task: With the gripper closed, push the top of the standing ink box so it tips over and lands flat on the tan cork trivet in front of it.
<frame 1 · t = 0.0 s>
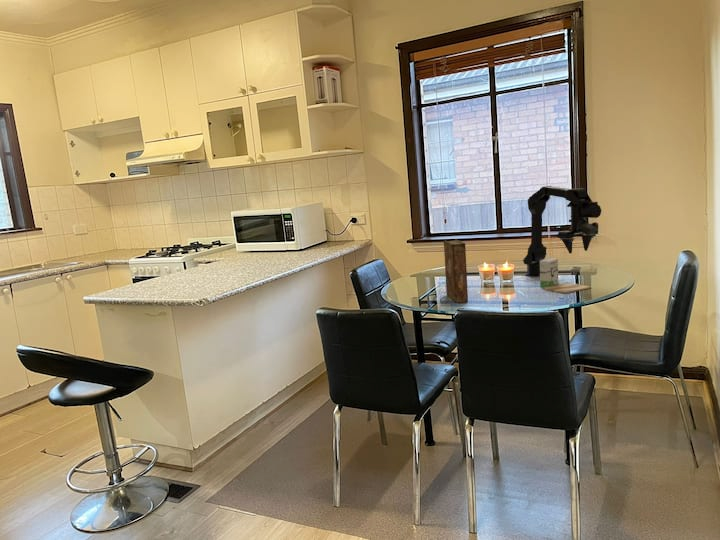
hand: (578, 252, 240), 15 cm above the table, fingers open, 9 cm apart
ink box: (549, 285, 246), on the table
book: (457, 299, 235), on the table
cork trivet: (566, 288, 236), on the table
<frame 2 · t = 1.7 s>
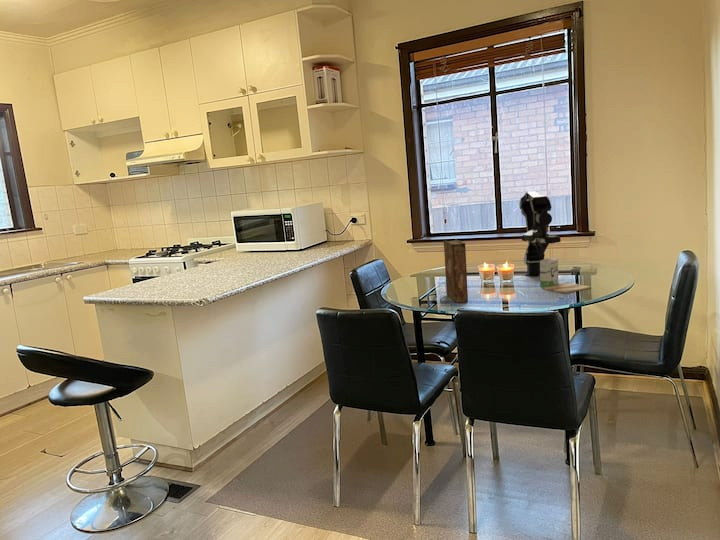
hand: (541, 256, 250), 12 cm above the table, fingers closed
nothing on the table moved.
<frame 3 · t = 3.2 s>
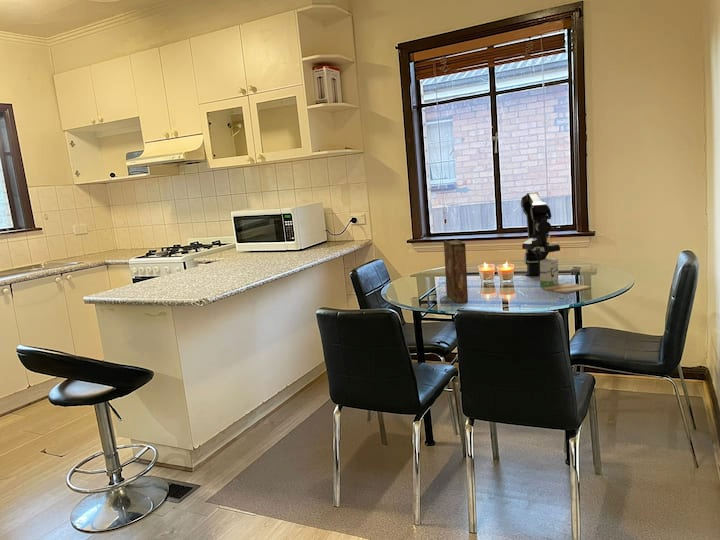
hand: (541, 265, 248), 9 cm above the table, fingers closed
ink box: (549, 285, 246), on the table, touching gripper
everything else where it was.
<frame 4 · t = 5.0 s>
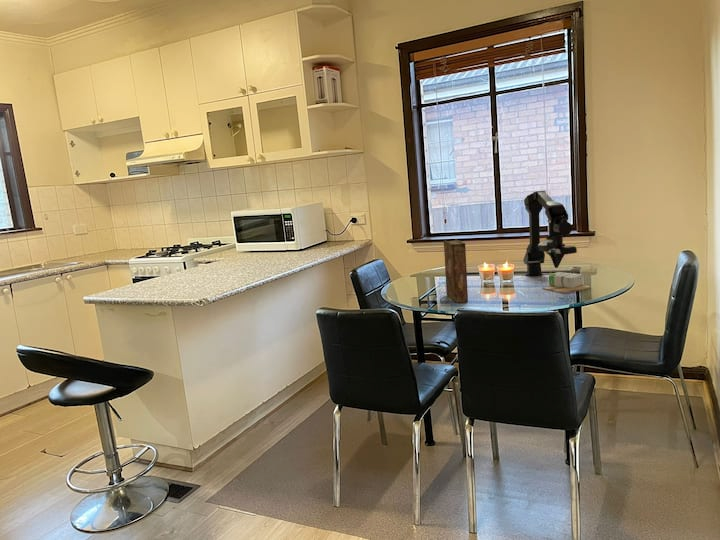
hand: (556, 267, 240), 9 cm above the table, fingers closed
ink box: (553, 278, 244), point 3 cm above the table, touching cork trivet
everything else where it was.
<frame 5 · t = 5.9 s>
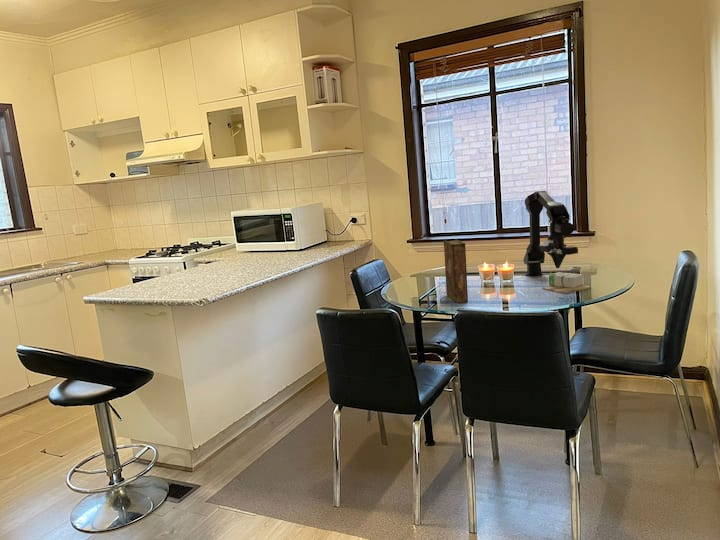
hand: (557, 268, 239), 8 cm above the table, fingers closed
nothing on the table moved.
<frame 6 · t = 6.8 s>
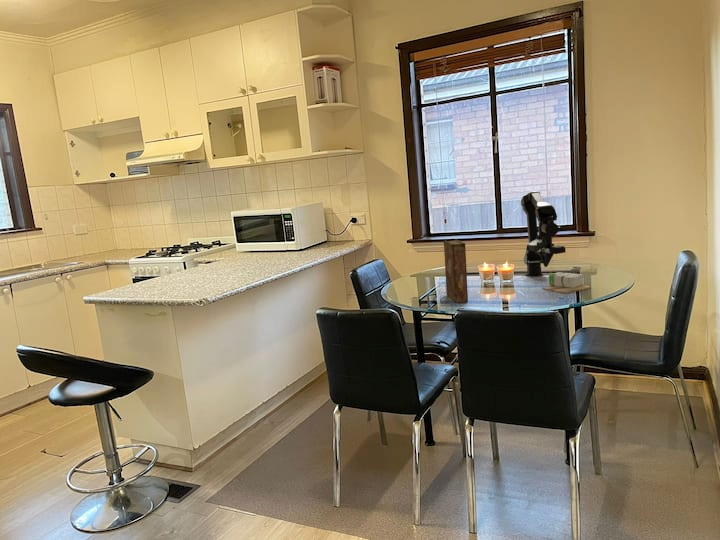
hand: (545, 266, 246), 8 cm above the table, fingers closed
nothing on the table moved.
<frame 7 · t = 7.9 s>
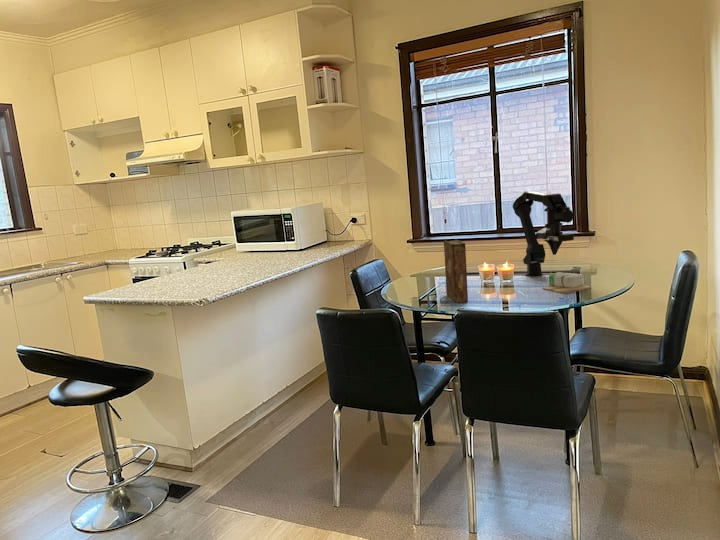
hand: (554, 254, 251), 12 cm above the table, fingers closed
nothing on the table moved.
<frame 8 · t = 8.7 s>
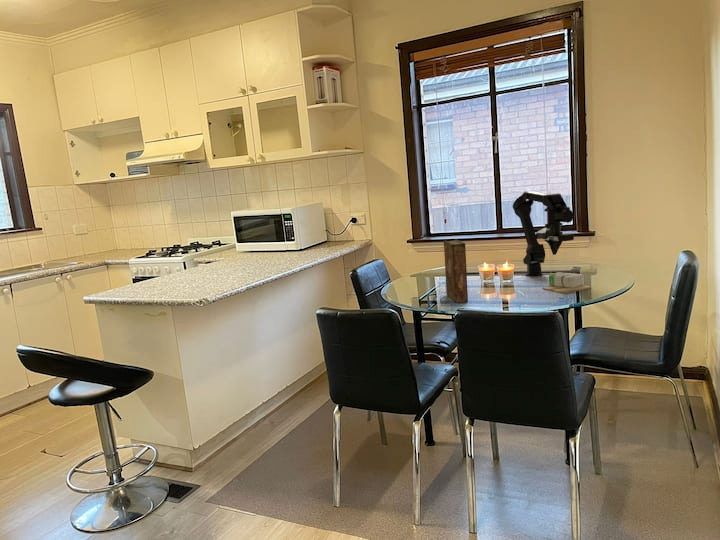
hand: (554, 254, 251), 12 cm above the table, fingers closed
nothing on the table moved.
at the end: ink box tilted 90°; ink box 8.6 cm from the cork trivet (horizontally); ink box inside the target area (7.6 cm from its centre), point 3.1 cm above the table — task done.
